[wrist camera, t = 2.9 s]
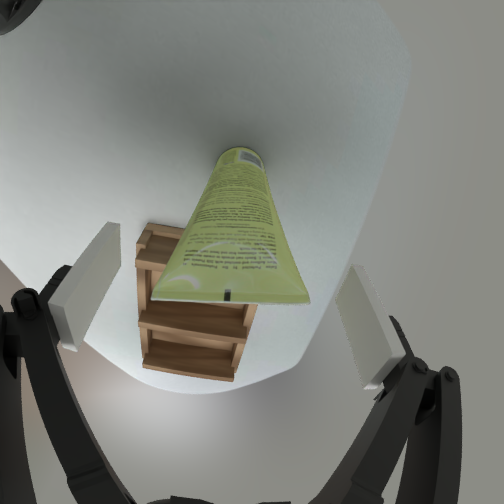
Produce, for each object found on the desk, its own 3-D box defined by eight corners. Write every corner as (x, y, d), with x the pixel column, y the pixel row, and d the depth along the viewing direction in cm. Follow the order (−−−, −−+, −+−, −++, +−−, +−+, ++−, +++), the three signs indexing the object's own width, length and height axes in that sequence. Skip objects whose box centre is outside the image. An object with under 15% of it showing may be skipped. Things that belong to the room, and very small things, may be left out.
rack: (147, 222, 32) (130, 254, 27) (267, 242, 34) (271, 277, 29) (148, 335, 43) (139, 368, 38) (236, 349, 45) (235, 384, 40)
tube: (232, 204, 32) (222, 354, 15) (200, 170, 29) (148, 300, 13) (274, 172, 30) (312, 304, 13) (242, 135, 28) (240, 230, 11)
